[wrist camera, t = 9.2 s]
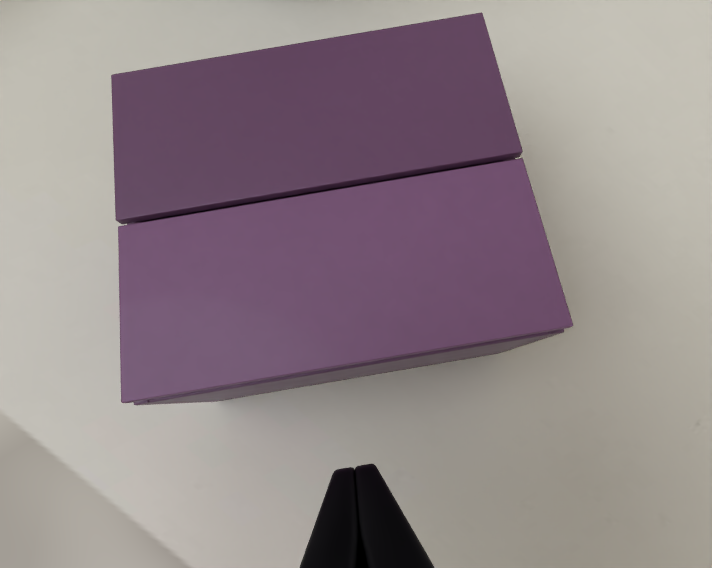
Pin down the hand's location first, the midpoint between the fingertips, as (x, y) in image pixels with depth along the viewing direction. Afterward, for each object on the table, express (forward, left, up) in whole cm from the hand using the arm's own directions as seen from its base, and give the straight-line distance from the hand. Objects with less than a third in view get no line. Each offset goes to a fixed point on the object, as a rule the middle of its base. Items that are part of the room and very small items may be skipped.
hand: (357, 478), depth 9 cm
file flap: (+5, +3, -4) cm, 7 cm away
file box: (+7, +4, -12) cm, 15 cm away
